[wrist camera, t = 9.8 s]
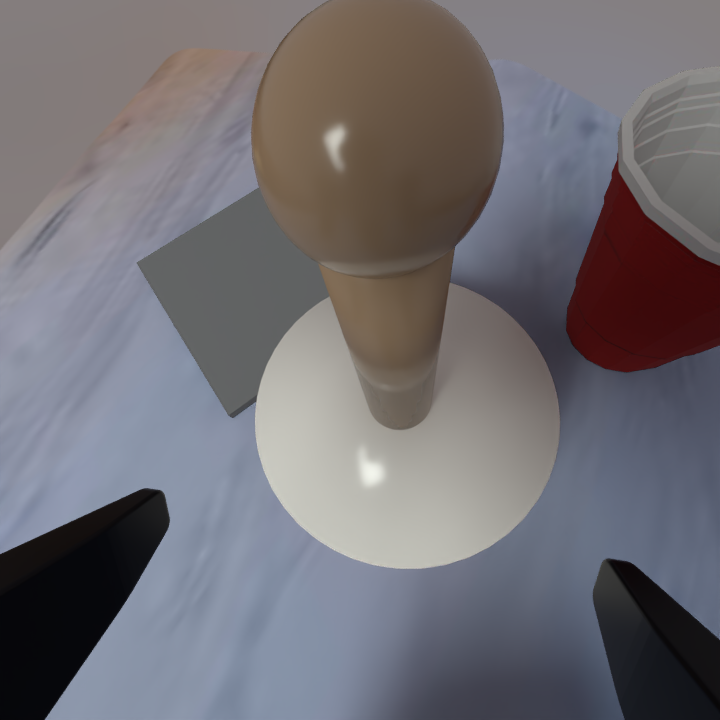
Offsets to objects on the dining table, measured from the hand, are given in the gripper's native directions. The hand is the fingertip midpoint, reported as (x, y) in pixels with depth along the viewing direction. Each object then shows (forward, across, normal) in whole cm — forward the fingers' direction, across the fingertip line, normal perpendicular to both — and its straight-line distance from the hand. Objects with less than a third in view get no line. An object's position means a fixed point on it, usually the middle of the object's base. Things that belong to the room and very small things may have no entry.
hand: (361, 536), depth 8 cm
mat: (+21, +11, -2) cm, 24 cm away
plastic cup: (+19, -12, 0) cm, 23 cm away
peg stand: (+11, 0, +2) cm, 11 cm away
